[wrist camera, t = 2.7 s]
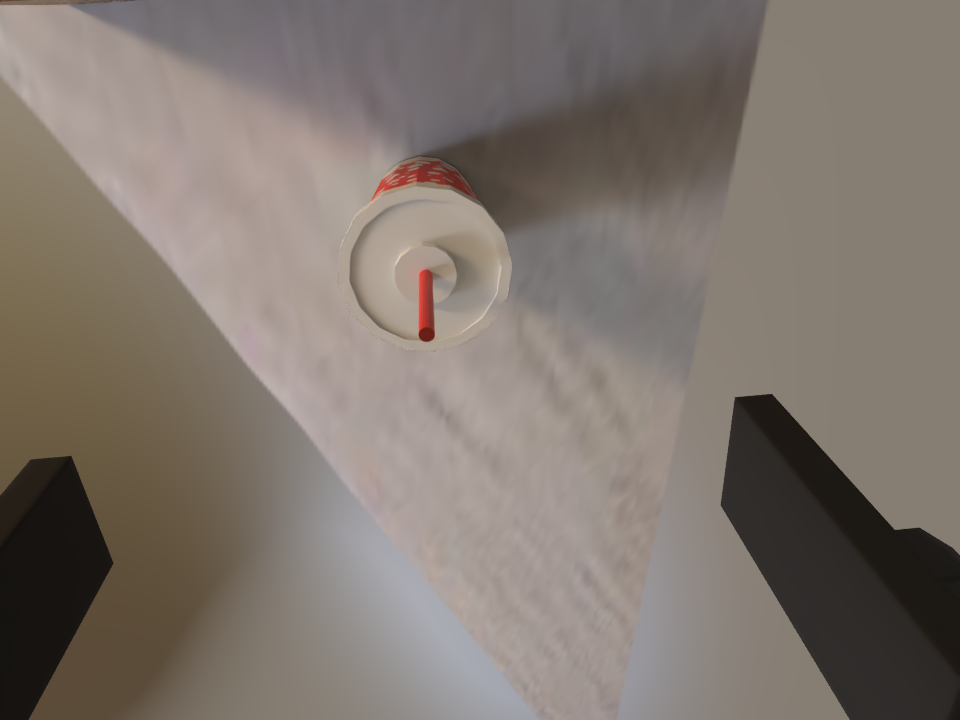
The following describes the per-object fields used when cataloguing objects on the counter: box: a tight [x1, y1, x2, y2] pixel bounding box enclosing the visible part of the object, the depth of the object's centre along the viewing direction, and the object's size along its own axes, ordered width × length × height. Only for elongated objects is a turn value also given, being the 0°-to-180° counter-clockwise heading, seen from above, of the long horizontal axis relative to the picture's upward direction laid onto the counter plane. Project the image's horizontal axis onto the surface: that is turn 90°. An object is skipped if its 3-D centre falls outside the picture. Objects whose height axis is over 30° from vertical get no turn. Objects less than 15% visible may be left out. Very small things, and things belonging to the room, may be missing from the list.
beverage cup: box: [338, 156, 512, 352], centre depth 26 cm, size 6×6×14 cm
